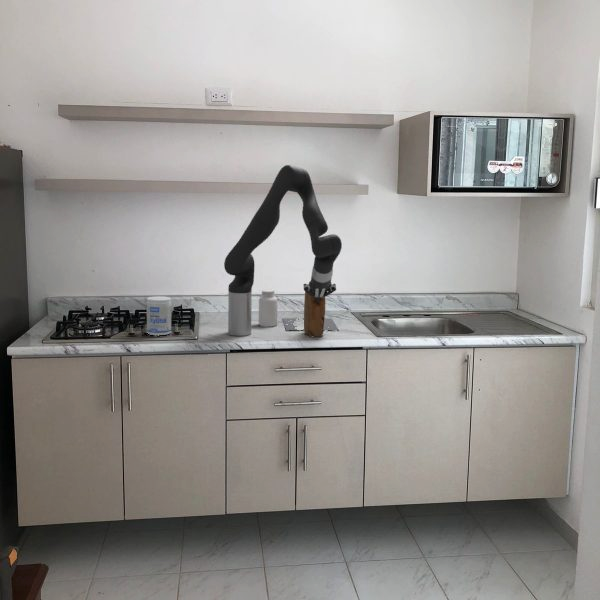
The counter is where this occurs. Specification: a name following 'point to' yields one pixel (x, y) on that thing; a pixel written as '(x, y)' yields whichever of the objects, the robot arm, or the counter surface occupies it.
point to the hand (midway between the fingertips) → (317, 300)
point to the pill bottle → (268, 309)
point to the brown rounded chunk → (314, 316)
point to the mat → (327, 321)
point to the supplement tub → (158, 315)
